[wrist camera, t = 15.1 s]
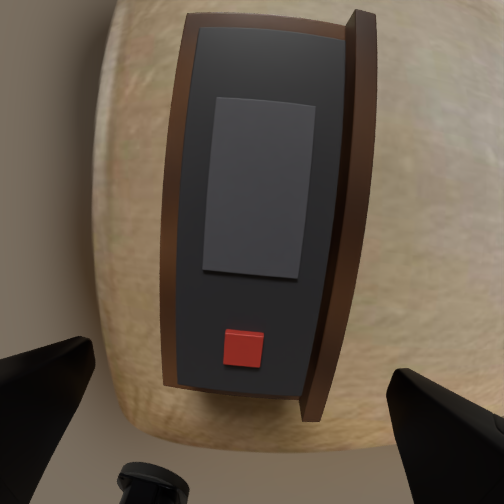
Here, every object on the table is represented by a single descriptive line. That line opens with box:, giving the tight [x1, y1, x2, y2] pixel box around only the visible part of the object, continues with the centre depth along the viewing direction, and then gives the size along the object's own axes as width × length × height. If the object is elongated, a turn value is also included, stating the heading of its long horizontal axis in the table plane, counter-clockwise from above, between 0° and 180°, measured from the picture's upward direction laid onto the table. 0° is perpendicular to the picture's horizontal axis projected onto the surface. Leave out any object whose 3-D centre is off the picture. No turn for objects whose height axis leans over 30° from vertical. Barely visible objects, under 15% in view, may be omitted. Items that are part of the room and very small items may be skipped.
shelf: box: [160, 9, 377, 422], centre depth 13 cm, size 16×7×8 cm, turn 175°
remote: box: [176, 27, 346, 396], centre depth 10 cm, size 12×4×2 cm, turn 175°
